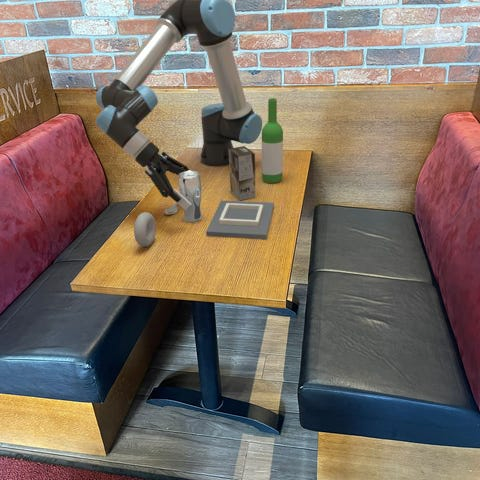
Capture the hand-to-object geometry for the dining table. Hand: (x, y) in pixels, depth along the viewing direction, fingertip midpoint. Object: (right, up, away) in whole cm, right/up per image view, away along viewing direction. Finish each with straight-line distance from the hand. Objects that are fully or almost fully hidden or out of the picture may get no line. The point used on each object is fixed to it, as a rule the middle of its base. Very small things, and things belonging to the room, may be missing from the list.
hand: (194, 197), depth 141 cm
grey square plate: (+15, -7, +2) cm, 17 cm away
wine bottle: (+27, +9, +30) cm, 41 cm away
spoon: (-6, -1, +14) cm, 16 cm away
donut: (-13, -15, -10) cm, 22 cm away
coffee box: (+15, +3, +19) cm, 25 cm away
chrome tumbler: (-1, -6, +4) cm, 8 cm away
